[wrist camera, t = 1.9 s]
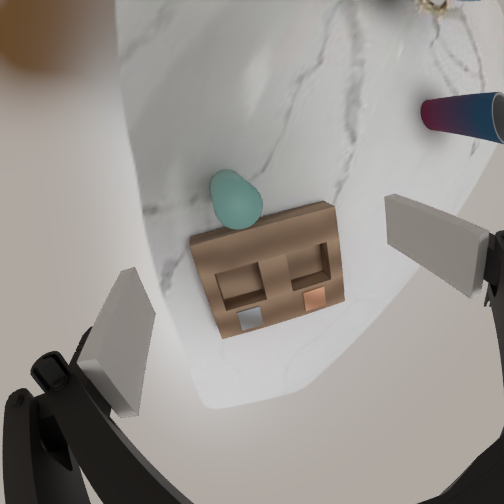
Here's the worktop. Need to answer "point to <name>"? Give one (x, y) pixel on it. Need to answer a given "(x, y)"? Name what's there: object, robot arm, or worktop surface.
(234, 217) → the plug
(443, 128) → the cup
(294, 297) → the socket board
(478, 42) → the worktop surface
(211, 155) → the worktop surface
